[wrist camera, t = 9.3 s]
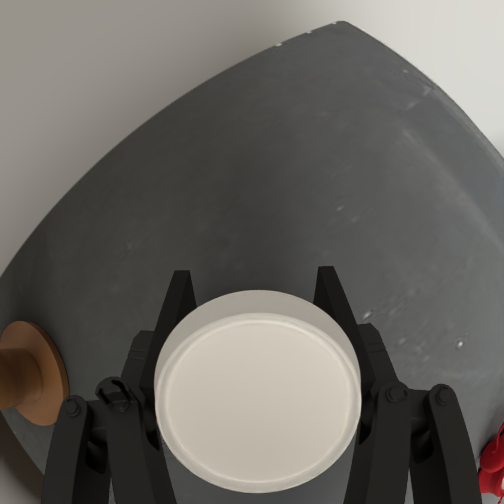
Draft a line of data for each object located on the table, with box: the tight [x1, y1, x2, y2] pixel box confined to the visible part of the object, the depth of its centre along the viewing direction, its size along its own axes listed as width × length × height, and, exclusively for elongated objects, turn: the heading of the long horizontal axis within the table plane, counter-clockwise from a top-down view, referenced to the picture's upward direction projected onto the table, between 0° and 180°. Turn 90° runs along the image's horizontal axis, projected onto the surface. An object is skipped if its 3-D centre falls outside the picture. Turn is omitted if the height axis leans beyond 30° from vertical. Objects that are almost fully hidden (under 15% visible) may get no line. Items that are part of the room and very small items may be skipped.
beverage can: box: [154, 290, 361, 493], centre depth 11 cm, size 6×6×12 cm
